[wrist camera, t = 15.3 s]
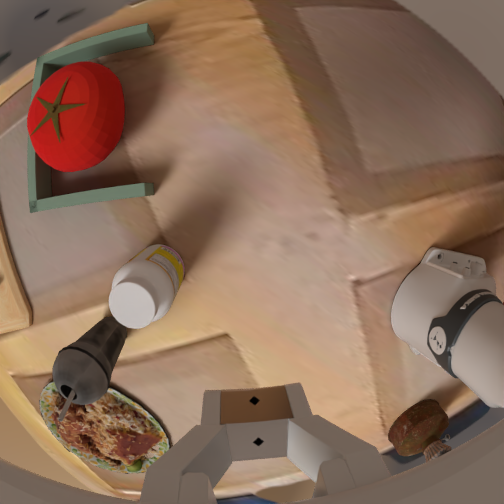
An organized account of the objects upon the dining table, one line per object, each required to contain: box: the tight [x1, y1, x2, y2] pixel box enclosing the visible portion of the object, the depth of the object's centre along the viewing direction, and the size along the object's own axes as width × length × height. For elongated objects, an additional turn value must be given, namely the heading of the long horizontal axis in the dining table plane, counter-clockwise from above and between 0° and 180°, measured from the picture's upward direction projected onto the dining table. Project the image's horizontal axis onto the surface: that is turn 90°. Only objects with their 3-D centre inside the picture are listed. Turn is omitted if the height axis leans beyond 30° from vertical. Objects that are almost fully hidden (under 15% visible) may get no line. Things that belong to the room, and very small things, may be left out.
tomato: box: [27, 61, 125, 172], centre depth 27 cm, size 14×13×10 cm
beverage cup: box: [53, 317, 127, 422], centre depth 29 cm, size 7×7×20 cm
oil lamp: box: [388, 399, 451, 462], centre depth 31 cm, size 14×15×40 cm
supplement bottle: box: [109, 244, 185, 329], centre depth 31 cm, size 7×7×13 cm
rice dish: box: [39, 381, 170, 474], centre depth 41 cm, size 28×28×5 cm
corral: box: [28, 23, 154, 213], centre depth 30 cm, size 18×23×4 cm
